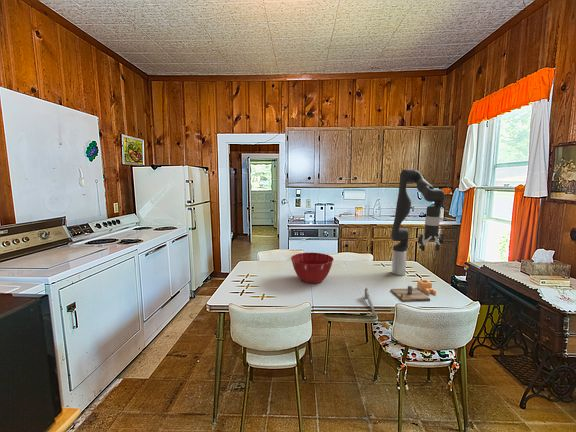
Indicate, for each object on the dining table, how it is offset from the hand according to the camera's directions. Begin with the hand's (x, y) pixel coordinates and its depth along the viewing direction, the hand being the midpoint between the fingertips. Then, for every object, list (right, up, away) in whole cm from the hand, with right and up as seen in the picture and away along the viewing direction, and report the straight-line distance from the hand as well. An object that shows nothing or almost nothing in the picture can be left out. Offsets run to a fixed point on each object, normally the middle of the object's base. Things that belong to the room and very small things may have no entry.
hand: (429, 250), depth 174 cm
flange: (+1, -25, +7) cm, 26 cm away
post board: (-12, -26, 0) cm, 29 cm away
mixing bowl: (-67, -23, +26) cm, 76 cm away
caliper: (-39, -28, -12) cm, 50 cm away
